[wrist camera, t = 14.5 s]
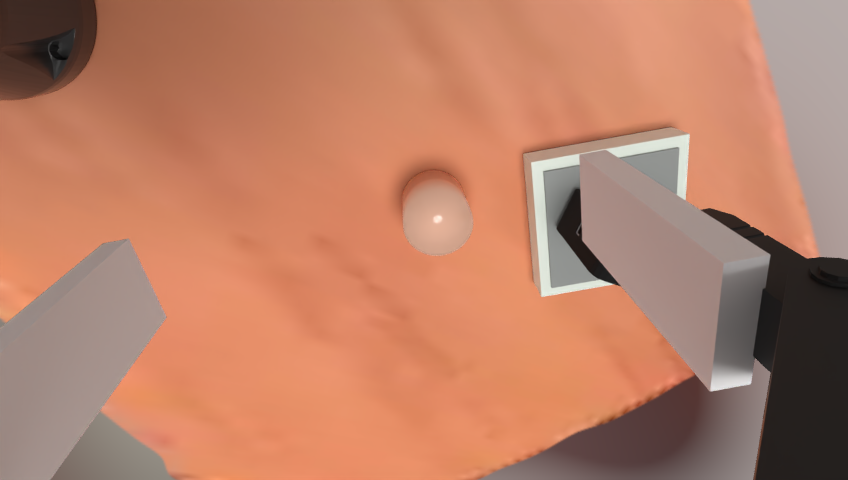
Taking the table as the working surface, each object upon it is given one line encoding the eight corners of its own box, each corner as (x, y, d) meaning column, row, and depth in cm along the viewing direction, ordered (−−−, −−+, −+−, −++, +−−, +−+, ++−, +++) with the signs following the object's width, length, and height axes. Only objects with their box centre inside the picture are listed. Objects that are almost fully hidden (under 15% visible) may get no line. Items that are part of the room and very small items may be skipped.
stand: (533, 282, 52) (542, 298, 49) (523, 153, 46) (532, 163, 43) (665, 258, 51) (682, 274, 48) (671, 126, 46) (691, 134, 43)
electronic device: (573, 185, 44) (620, 230, 35) (667, 218, 46) (735, 268, 37) (553, 226, 46) (593, 279, 36) (645, 256, 47) (705, 313, 38)
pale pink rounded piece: (408, 233, 49) (409, 261, 43) (396, 176, 46) (397, 197, 41) (467, 222, 49) (477, 249, 43) (459, 164, 46) (468, 185, 41)
